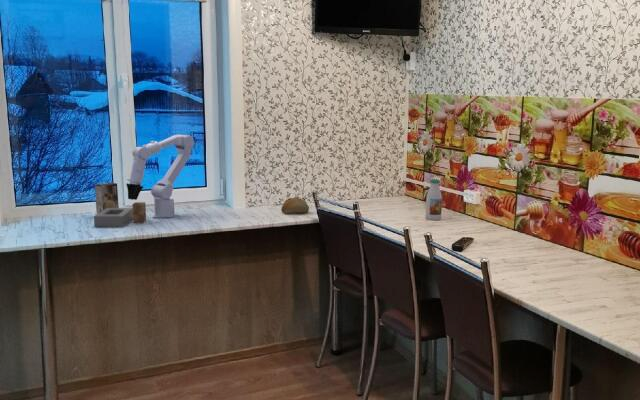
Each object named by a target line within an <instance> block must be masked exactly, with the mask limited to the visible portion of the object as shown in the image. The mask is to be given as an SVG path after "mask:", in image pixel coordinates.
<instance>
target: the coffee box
mask: <svg viewBox="0 0 640 400" xmlns="http://www.w3.org/2000/svg"><path fill="white" fill-rule="evenodd" d="M118 190H119V189H118V182H117V183H115V182H104V183H97V184H96V183H95V184H94V196H95V208H96V209H95V210H96V215H97V214H98V213H100V212H101V211H103V210H104V209H106V208H120V207H119V193H118V192H119V191H118Z"/></svg>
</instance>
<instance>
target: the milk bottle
mask: <svg viewBox="0 0 640 400" xmlns="http://www.w3.org/2000/svg"><path fill="white" fill-rule="evenodd" d="M429 182H430V183H429V185H430V186H429V189H428V191H427V194H426V199H425V200H426V202H425V219H426V220H429V221H440V220H441V219H442V210H443V209H442V205H443V196H442V192H441V189H440V182H441V181H440V179H436V178H432V179H430V180H429Z"/></svg>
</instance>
